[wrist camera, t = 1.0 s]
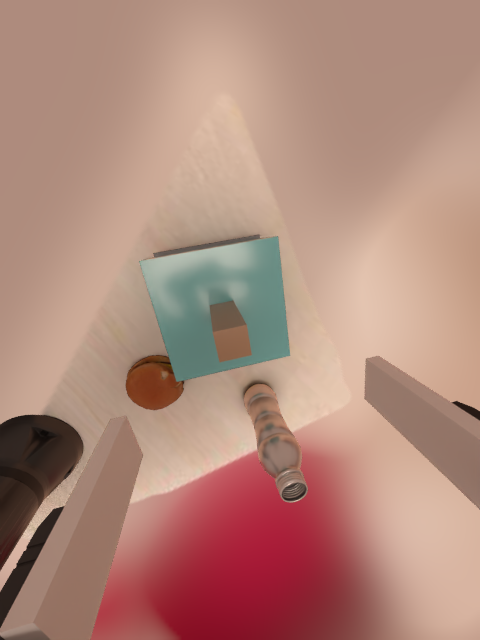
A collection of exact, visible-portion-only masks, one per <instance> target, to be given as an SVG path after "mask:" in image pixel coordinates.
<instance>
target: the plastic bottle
mask: <svg viewBox="0 0 480 640" xmlns="http://www.w3.org/2000/svg"><path fill="white" fill-rule="evenodd" d="M244 404H245V408H246V410H247V412H248V414H249V415H250V417H251V420H252V423H253V425H254V429H255V434H256V439H257V448H258V456H259V461H260V464H261V465H262V467H263V468H264V470H265V471H266V472H267V473H268V474H269V475H271V476H272V477H273V478H275V483H276V486H277V488H278V490H279V493H280V496H281V498H282V499H283V500H284V501H286V502H296V501H299V500H301V499H302V498H303V497H304V496H305V495H306V494H307V491H308V487H307V484H306V482H305V480H304V476H303V473H302V471H301V470H300V466H301V460H302V454H301V448H300V445H299V443H298V442H297V440H296V439H295V437H294V435H293V434H292V433H291V431H290V430H289V428H288V427H287V425H286V423H285V421H284V419H283V417H282V415H281V412H280V409H279V406H278V401H277V397H276V394H275V393H274V391H273V390H272V389H271V388H270V387H269V386H267V385H264V384H256V385H253V386H251V387H250V388H249V389H248V390H247V391H246V393H245V396H244Z"/></svg>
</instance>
